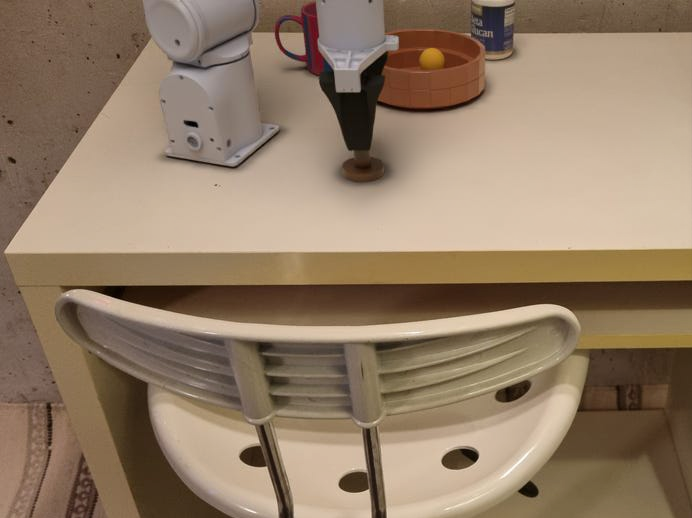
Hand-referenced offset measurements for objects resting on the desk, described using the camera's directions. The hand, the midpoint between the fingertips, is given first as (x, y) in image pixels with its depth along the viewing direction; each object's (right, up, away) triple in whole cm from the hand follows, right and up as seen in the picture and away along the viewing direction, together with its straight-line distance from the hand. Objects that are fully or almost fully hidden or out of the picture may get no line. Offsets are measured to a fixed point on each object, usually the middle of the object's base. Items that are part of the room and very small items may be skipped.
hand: (360, 139), depth 80 cm
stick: (0, -3, +2) cm, 3 cm away
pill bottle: (+13, +19, +28) cm, 36 cm away
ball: (+6, +15, +19) cm, 25 cm away
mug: (-8, +16, +23) cm, 29 cm away
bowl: (+5, +12, +19) cm, 22 cm away
